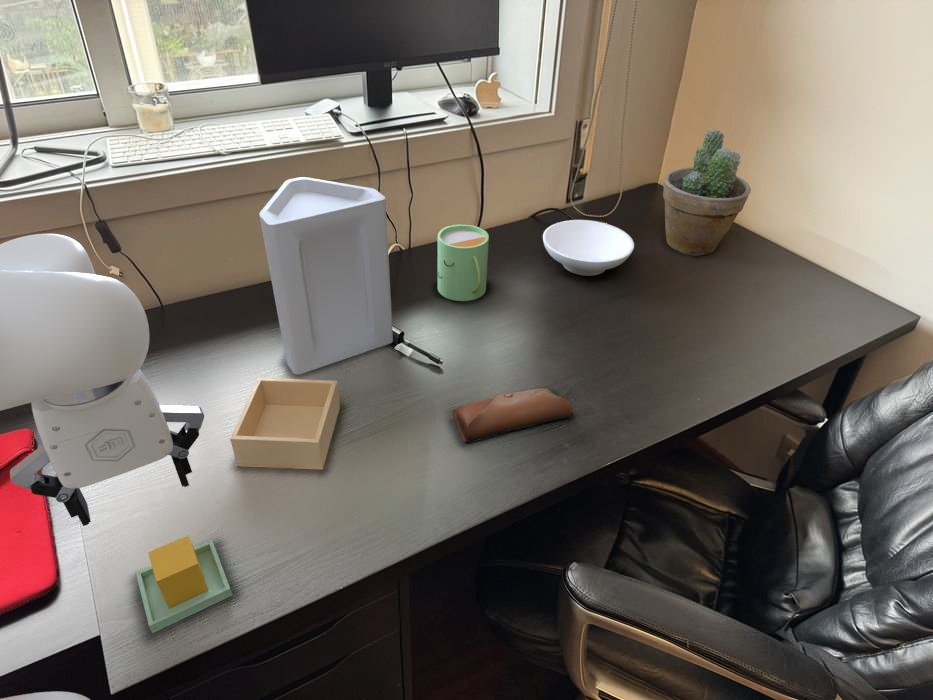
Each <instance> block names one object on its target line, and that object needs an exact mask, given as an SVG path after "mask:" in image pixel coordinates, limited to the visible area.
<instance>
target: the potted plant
mask: <svg viewBox="0 0 933 700" xmlns="http://www.w3.org/2000/svg"><path fill="white" fill-rule="evenodd" d="M704 136H705V137H703V142H702V146H699V147H697V149H696V150H695V155H694V157H693V166H691V167H690V166H689V167H683V168H682V167H681V168H677V169H674V170H671V171H670V172H668V173H667V174H666V175H665V177H664V182H663V190H662V191H663V192H662V197H663V200H664V223H665V240H666V241H665V242H666V244H667V245H668V246H669V247H670V248H671V249H673V250H674V251H676V252H677V253H679V254H683V255H686V256H691V257H699V256H701V257H702V256H708V255H709V254H712V253H713V252H715V250H716V249H717V247H718V246H719V244H720V242H721V241H722V240H723V238H724V236H725V235H726V234H727V233H728V232H729V231H730V230H731V227H732V225H733V223H734V222H735V220H736V218H737V217H738V215H739V213H740V212H742V210H743V209H744V207H745V204H746V202H747V200H748V198H749V195H750V194H751V192H752V189H751V186H750V184H749V183H748V182H747V181H746V180H745V179H743V178H742V177H740V176H738V175H737V172H738V170H739V168H738V167H739V166H740V164H741V160H740V159H741V154H740V153H739V152H735V151H732V150H731V149H730V148H723V146H724V138H725V134H724V133H722V131H720V130H716V129H710V130H708V131H707V132H706V133H705V134H704Z"/></svg>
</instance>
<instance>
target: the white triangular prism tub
mask: <svg viewBox="0 0 933 700" xmlns="http://www.w3.org/2000/svg"><path fill="white" fill-rule="evenodd" d="M386 200H387V199H386V196H385V195H383V194H382V193H381V192H380V191H378V190H377V189H375V188H372V187H366V186H361V185H356V184H355V185H354V184H349V183H342V182H337V181H331V180H326V179H325V180H324V179H318V178H313V177H307V176H300V177H299V176H298V177H294V178H289V179H287V180H285V181H284V182H283V183H282V185H281V186H280V187H279V188H278V189H277V190H276V192H275V193H274V194H273V196H272V197H271V198H270V199H269V201H268V202H266V204H265V205H264V207H263V208H262V209H261V210H260V212H259V214H258V216H259V220H260V226H261V231H262V236H263V242H264V247H265V253H266V258H267V264H268V270H269V274H270V280H271V285H272V291H273V297H274V302H275V307H276V313H277V319H278V324H279V330H280V336H281V340H282V346H283V351H284V357H285V362H286V365H287V366H288V368H289V369H290V371H291V372H292V374H293V375H297V376H299V375H302V374H305V373H308V372H311V371H313V370H318V369H320V368H323V367H326V366H329V365H332V364H335V363H337V362H340V361H344V360H346V359H349V358H352V357H355V356H358V355H360V354H363V353H366V352H369V351H372V350H376V349H377V348H381V347H384V346H387V345H390V344H392V343H393V342H394V335H393V334H394V333H393V313H392V298H391V295H392V294H391V278H390V258H389V239H388V222H387V221H388V219H387V203H386Z"/></svg>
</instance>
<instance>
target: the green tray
mask: <svg viewBox="0 0 933 700" xmlns="http://www.w3.org/2000/svg"><path fill="white" fill-rule="evenodd" d="M193 548H194V551H195V554H196V556H197V559H198V561H199V564H200V567H201V570H202V573H203V576H204V579H205V582H206V585H207V588H208V591H207V592H205V593H202V594H200V595H198V596H196V597H194V598H192V599H189V600H187V601H185V602H183V603H181V604H179V605H176V606H174V607H172V608H170V609H169V608H168V606H167V604H166V602H165V599H164V597H163V595H162V593H161V591H160V589H159V587H158V584H157V582H156V579H155V575H154V572H153V568H152V565H150V566H147V567H145V568H143V569H140V570H137V571H136V572H135V576H136V580H137V584H138V588H139V593H140V596H141V600H142V605H143V608H144V613H145V616H146V620H147V624H148V628H149V629H150V631H151V633H152V634H155V633H156V632H158V631H160V630H163V629H165V628H167V627H169V626H171V625H173V624H175V623H179V621H182V620H184V619H187V618H188V617H190V616H193V615H195V614H196V613H198V612H201V611H203V610H205V609H208V608H210V607H211V606H213V605H216V604H218V603H221V602H222V601H224V600H227V599H228V598H231V597H233V592H232V590H231V587H230V584H229V581H228V578H227V575H226V573H225V571H224V567H223V566H222V563H221V560H220V557H219V554H218V552H217V549H216V546H215V544H214V541H213V540H212V539H211V540H209V541H206V542H204V543H201V544H199V545H196V546H193Z"/></svg>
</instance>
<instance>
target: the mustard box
mask: <svg viewBox="0 0 933 700" xmlns="http://www.w3.org/2000/svg"><path fill="white" fill-rule="evenodd" d="M147 553H148V556H149V557H148V558H149V560H150V564H151V566H152V568H153V572H154V575H155V579H156V582H157V584H158V587H159V589H160V591H161V593H162V595H163V597H164V599H165V602H166V604H167V606H168V608H169V609H170V608H172V607H174V606H176V605H179V604H181V603H183V602H185V601H187V600H189V599H192V598H194V597H196V596H198V595H200V594H202V593H205V592H207V591H208V588H207V585H206V582H205V579H204V576H203V573H202V570H201V567H200V564H199V561H198V559H197V556H196V554H195V551H194V546H193V543H192V540H191V537H190V535H186V536H184V537H181V538H178V539H177V540H173V541H172V542H168V543H166V544H164V545H162V546H159V547H157V548H155V549H152V550H150V551H148V552H147Z"/></svg>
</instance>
